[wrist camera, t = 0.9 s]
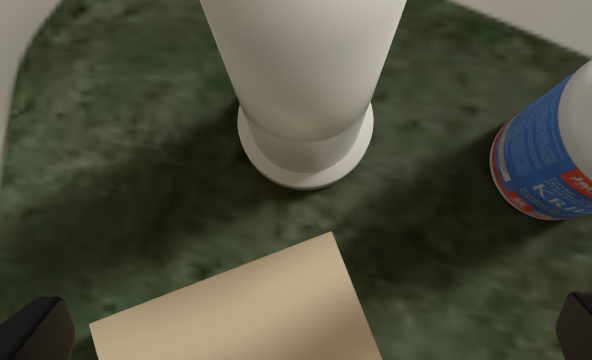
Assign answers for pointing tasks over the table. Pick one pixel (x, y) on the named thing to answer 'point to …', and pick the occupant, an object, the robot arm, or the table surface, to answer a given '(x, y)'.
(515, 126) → the pill bottle
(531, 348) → the table surface
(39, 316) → the robot arm
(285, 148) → the white flanged cylinder
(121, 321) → the oak box
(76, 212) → the table surface
